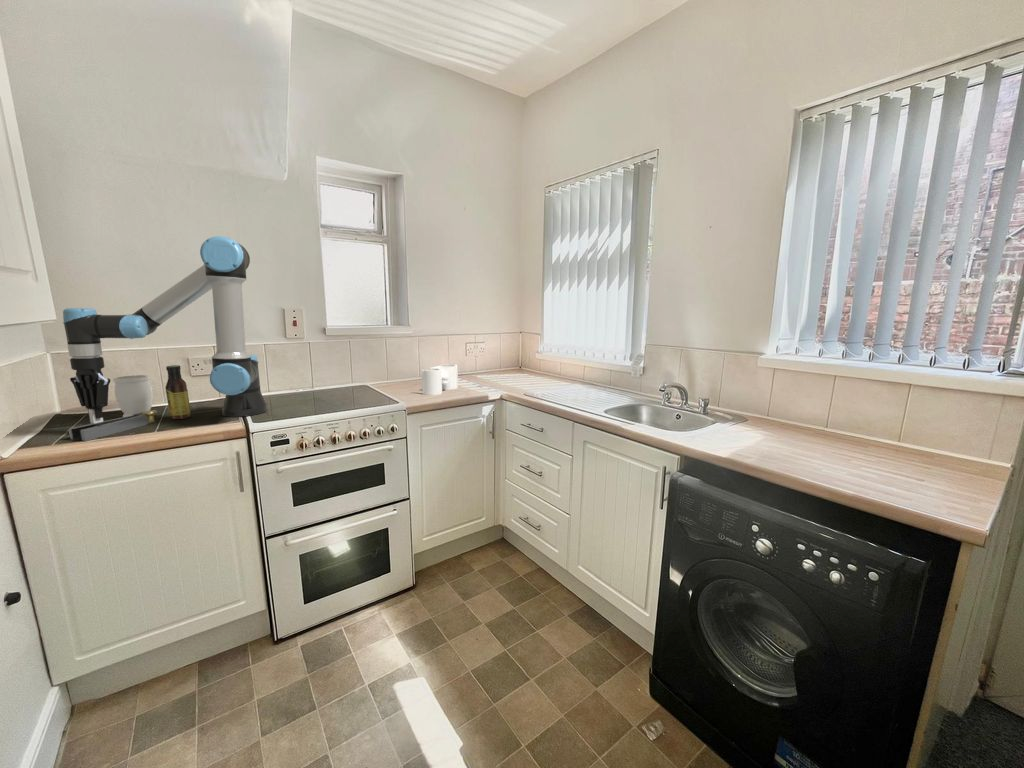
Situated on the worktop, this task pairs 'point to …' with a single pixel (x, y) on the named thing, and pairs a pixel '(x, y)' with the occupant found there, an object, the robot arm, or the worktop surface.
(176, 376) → the sauce bottle
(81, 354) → the robot arm
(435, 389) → the white paper rolls
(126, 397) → the jar
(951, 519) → the worktop surface
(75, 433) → the tongs moving arm
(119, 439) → the worktop surface
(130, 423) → the arm
